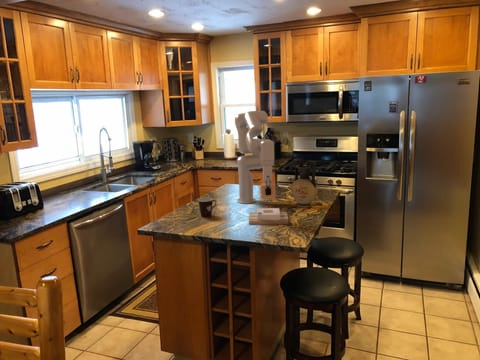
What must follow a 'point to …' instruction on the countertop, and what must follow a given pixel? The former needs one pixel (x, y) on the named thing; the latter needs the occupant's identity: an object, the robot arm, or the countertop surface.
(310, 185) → the amphora
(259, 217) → the socket
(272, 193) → the orange block
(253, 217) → the board
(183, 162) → the countertop surface
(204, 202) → the coffee mug
